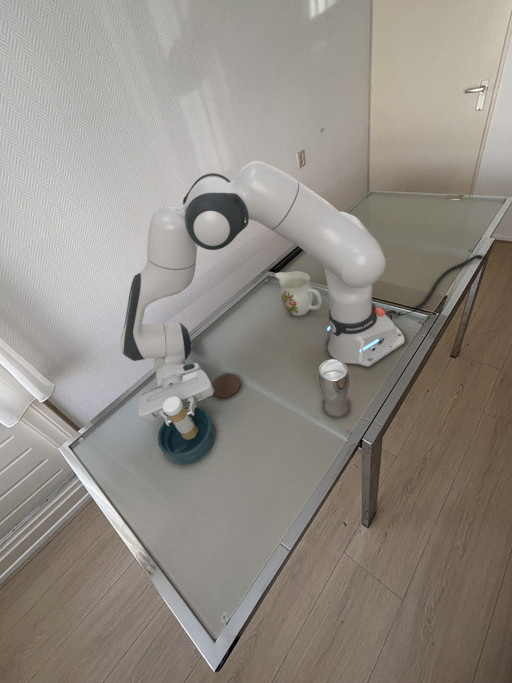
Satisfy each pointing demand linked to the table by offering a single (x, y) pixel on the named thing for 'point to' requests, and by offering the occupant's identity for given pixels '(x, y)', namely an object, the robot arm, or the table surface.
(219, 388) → the coaster
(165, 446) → the bowl
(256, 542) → the table surface
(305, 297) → the pitcher
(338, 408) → the silver metal tumbler
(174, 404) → the sprinkles bottle
